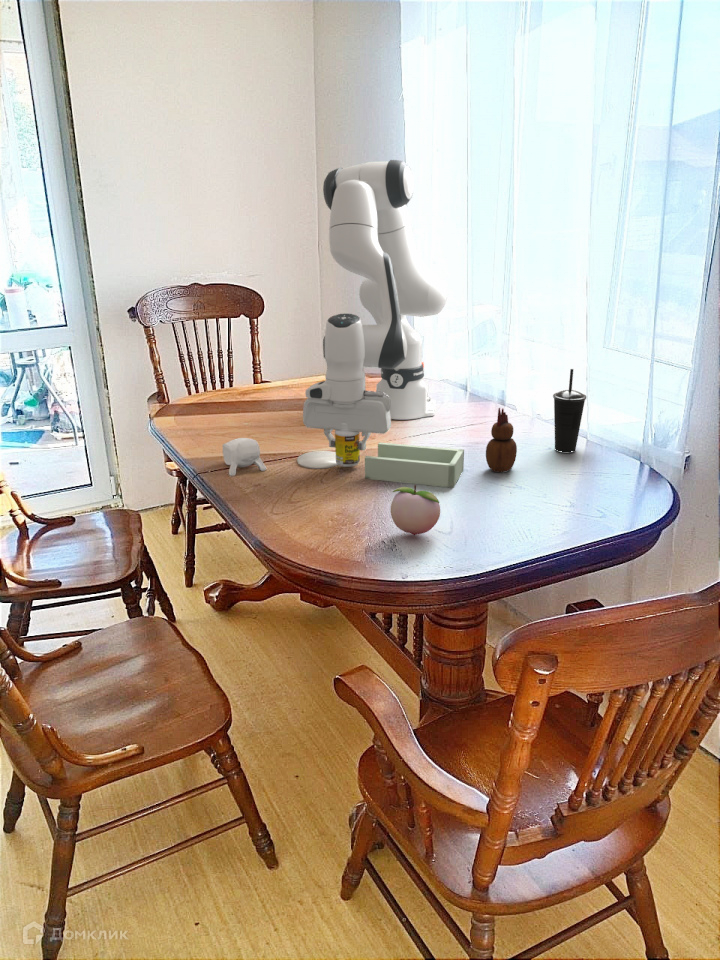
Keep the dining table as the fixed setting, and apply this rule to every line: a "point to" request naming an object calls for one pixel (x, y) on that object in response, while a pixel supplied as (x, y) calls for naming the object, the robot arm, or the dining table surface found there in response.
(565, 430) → the drinking cup
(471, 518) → the dining table surface
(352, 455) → the supplement bottle
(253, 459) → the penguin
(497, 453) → the wooden figurine
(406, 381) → the robot arm
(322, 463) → the white round disc
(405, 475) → the green rectangular tray
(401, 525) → the decorative fruit
